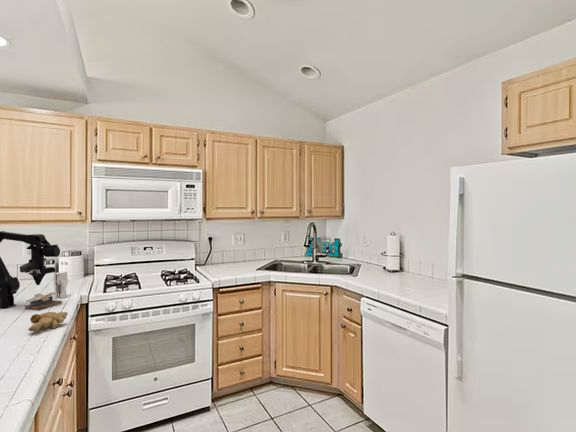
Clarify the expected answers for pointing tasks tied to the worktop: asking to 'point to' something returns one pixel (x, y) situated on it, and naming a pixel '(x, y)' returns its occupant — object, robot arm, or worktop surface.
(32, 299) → the near rocker
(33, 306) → the switch unit
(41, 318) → the ginger root
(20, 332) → the worktop surface
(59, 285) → the beer glass
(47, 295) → the far rocker
